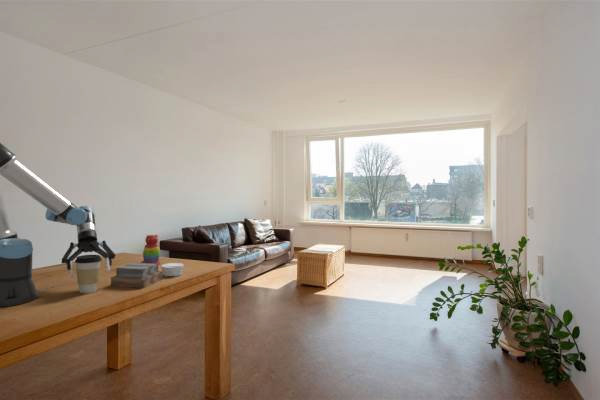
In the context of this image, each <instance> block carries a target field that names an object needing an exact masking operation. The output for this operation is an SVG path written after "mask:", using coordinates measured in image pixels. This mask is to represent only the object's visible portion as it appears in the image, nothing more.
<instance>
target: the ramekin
mask: <svg viewBox="0 0 600 400" xmlns="http://www.w3.org/2000/svg"><path fill="white" fill-rule="evenodd" d="M184 266H185V265H184V263H181V262H168V263H163V264H161V266H160V267H161V271H163V275H162V276H164V277H167V276H174V277H179V276H181V275H182V274H183V272H184ZM178 275H179V276H178Z"/></svg>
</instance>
